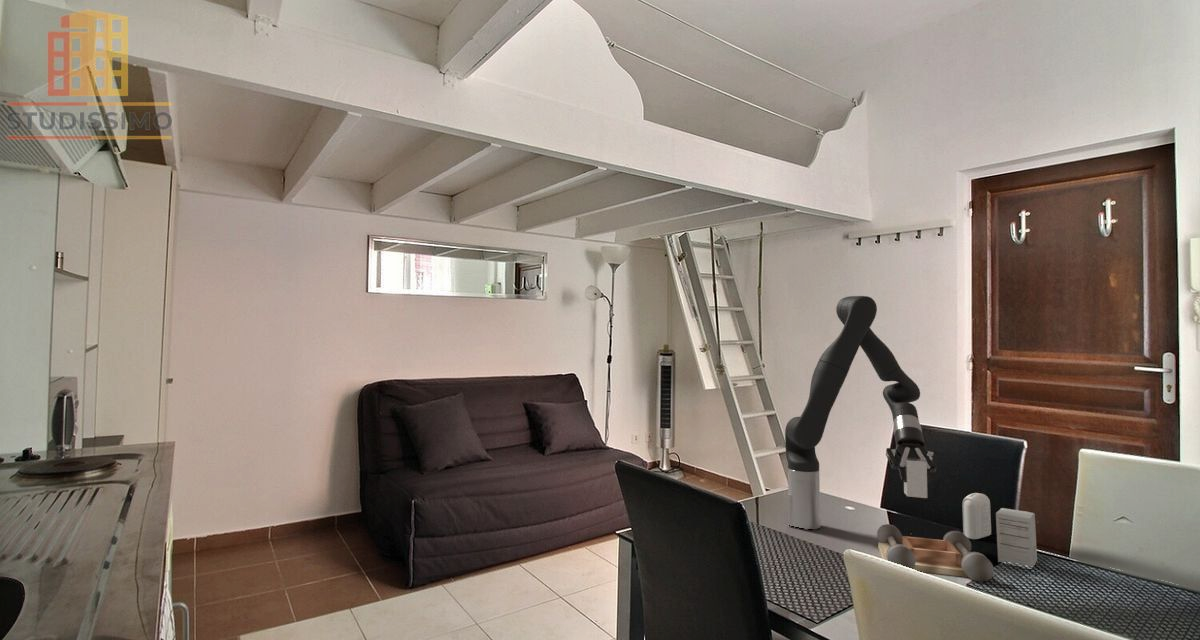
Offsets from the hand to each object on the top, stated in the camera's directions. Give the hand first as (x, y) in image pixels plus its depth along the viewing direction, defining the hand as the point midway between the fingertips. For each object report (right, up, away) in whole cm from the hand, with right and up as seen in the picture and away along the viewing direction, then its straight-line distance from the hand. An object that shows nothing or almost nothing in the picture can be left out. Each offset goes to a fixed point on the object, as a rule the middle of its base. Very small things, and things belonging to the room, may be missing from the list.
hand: (916, 481), depth 159 cm
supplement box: (+17, -17, -15) cm, 28 cm away
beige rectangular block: (0, -4, +1) cm, 5 cm away
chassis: (-5, -16, -16) cm, 23 cm away
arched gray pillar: (+22, -18, +7) cm, 30 cm away
